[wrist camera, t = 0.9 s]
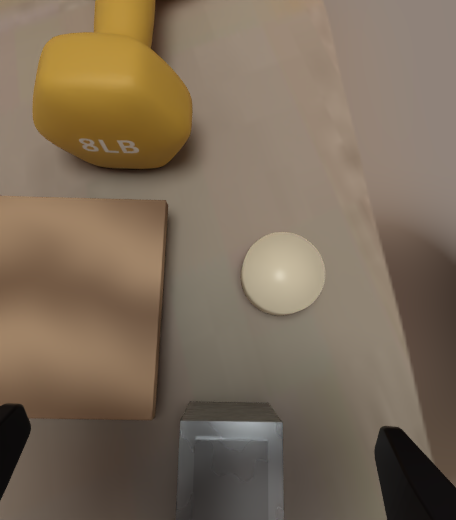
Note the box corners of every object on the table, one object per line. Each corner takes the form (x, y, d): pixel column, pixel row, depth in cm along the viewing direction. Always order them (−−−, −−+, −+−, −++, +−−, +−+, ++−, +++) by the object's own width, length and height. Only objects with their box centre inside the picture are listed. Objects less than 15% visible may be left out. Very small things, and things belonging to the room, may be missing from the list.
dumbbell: (94, -41, 28) (42, -196, 20) (207, -37, 28) (201, -188, 20) (61, 177, 23) (-21, 94, 15) (195, 182, 24) (182, 102, 16)
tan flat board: (160, 410, 20) (151, 420, 18) (-14, 407, 20) (-47, 416, 17) (171, 215, 23) (165, 200, 20) (18, 211, 23) (-6, 195, 20)
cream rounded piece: (316, 316, 22) (326, 314, 20) (240, 314, 22) (242, 312, 19) (313, 243, 23) (323, 233, 21) (240, 241, 23) (243, 230, 21)
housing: (268, 539, 19) (286, 614, 14) (184, 538, 19) (170, 613, 14) (267, 402, 20) (283, 423, 15) (189, 401, 20) (179, 422, 15)
